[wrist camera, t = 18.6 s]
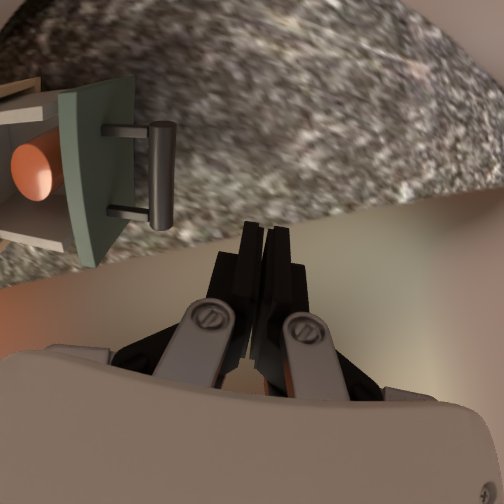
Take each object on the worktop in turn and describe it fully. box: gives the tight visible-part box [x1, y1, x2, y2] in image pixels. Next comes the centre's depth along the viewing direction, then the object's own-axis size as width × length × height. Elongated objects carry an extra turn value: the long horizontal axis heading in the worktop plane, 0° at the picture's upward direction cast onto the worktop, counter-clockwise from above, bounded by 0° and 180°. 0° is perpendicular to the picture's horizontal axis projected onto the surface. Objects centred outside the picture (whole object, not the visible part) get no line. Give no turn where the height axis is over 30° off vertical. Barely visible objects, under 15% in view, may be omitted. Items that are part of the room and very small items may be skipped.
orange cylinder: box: [11, 126, 65, 201], centre depth 16 cm, size 4×4×4 cm
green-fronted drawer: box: [0, 76, 177, 268], centre depth 16 cm, size 17×10×7 cm, turn 82°
